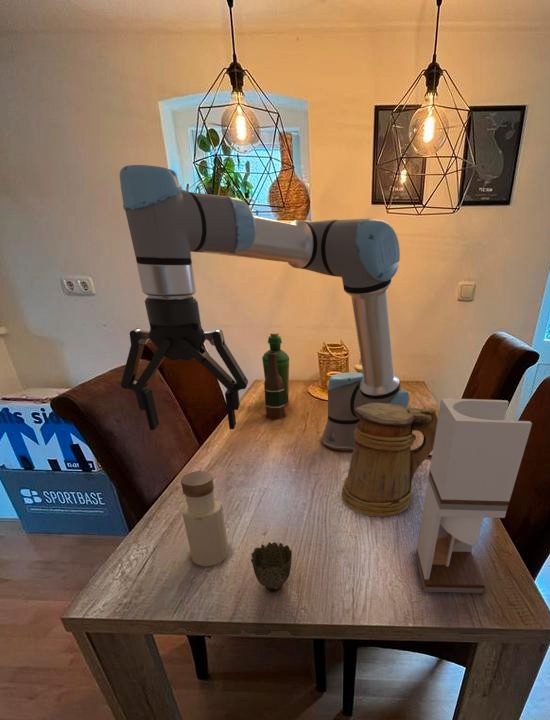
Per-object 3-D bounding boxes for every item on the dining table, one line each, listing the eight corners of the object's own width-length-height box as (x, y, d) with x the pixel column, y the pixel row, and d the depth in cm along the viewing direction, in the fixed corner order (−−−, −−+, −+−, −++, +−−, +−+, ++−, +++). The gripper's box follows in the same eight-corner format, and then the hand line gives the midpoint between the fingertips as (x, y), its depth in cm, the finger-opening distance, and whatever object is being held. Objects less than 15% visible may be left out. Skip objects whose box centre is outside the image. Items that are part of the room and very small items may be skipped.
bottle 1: (231, 542, 87) (221, 479, 79) (225, 565, 81) (214, 499, 72) (196, 543, 86) (184, 480, 78) (188, 566, 80) (173, 500, 72)
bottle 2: (295, 400, 170) (292, 332, 156) (283, 408, 162) (280, 336, 147) (273, 397, 173) (268, 330, 159) (260, 404, 164) (255, 334, 150)
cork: (219, 499, 80) (214, 470, 77) (213, 515, 75) (208, 485, 72) (190, 499, 79) (185, 471, 76) (183, 515, 75) (176, 486, 71)
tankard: (337, 482, 111) (339, 396, 99) (417, 479, 114) (430, 395, 102) (346, 519, 96) (350, 423, 83) (438, 515, 99) (456, 421, 86)
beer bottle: (281, 420, 151) (278, 355, 138) (262, 417, 152) (257, 353, 140) (288, 413, 157) (285, 351, 145) (269, 411, 158) (265, 349, 146)
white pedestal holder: (424, 591, 76) (456, 420, 59) (415, 555, 85) (441, 398, 68) (482, 592, 77) (532, 423, 59) (468, 556, 86) (507, 400, 68)
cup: (256, 573, 79) (253, 541, 75) (293, 572, 80) (292, 540, 76) (252, 601, 73) (248, 569, 68) (292, 600, 73) (291, 567, 69)
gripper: (256, 295, 64) (266, 418, 75) (95, 291, 62) (129, 419, 73) (251, 301, 58) (262, 434, 69) (71, 297, 56) (112, 435, 66)
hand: (194, 426), depth 71 cm, fingers open, 13 cm apart
